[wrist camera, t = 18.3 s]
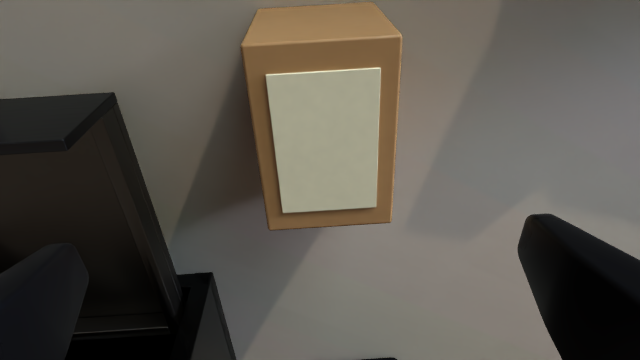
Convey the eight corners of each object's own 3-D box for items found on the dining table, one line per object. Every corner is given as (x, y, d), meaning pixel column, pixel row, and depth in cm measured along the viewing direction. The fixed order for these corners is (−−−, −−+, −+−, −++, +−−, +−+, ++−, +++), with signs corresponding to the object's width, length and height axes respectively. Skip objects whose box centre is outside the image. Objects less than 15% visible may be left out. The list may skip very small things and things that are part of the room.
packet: (374, 1, 15) (404, 35, 11) (370, 152, 19) (392, 225, 14) (257, 8, 15) (238, 45, 11) (275, 158, 19) (268, 233, 14)
